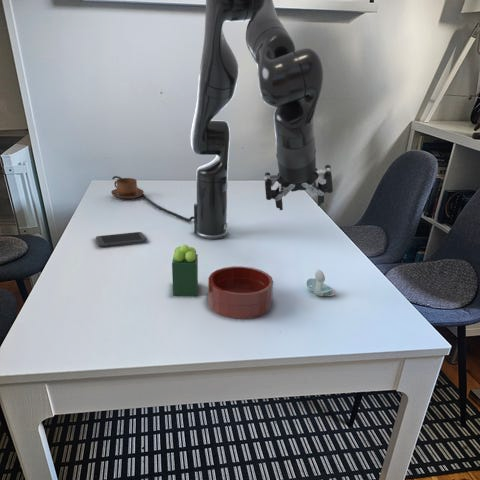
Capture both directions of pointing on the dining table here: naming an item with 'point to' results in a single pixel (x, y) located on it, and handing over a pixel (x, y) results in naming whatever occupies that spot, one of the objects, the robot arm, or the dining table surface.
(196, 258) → the grapes
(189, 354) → the dining table surface
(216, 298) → the pot
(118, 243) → the cell phone
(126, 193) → the cup and saucer
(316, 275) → the pacifier
